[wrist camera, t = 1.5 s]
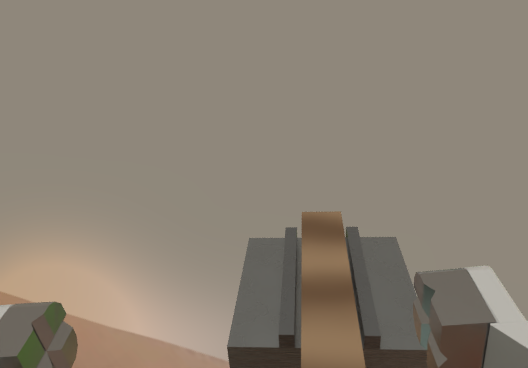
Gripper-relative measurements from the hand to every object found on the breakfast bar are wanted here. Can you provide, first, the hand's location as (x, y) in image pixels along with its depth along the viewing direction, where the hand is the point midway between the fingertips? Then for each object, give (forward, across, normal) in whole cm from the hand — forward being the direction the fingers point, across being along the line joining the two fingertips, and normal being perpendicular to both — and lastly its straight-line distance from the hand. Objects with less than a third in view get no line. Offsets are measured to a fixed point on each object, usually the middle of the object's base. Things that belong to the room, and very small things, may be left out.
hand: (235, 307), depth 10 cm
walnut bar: (+12, -2, +14) cm, 18 cm away
